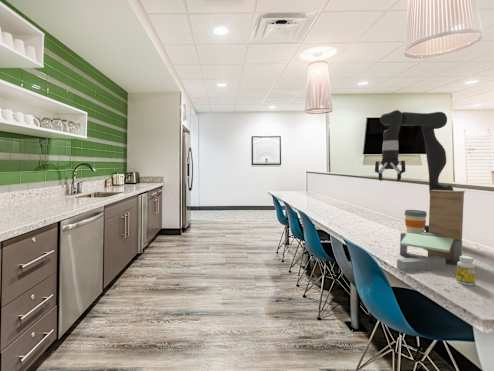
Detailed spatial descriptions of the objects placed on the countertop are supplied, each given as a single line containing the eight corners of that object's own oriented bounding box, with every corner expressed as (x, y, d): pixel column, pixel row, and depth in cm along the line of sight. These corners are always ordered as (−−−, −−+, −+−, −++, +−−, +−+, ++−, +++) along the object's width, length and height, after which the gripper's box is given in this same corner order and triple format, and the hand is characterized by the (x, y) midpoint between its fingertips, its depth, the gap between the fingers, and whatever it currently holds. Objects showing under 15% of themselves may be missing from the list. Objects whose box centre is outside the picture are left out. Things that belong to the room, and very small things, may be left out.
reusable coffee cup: (426, 233, 188) (426, 210, 188) (426, 236, 178) (426, 213, 177) (404, 230, 195) (405, 209, 194) (403, 234, 184) (404, 211, 184)
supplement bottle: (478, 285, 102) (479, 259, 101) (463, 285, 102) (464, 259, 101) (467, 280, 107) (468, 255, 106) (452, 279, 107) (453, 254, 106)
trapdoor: (408, 232, 138) (408, 230, 138) (454, 238, 126) (454, 236, 126) (400, 244, 128) (400, 242, 128) (449, 252, 116) (449, 249, 116)
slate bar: (397, 259, 120) (404, 262, 116) (437, 255, 125) (445, 258, 121) (396, 268, 120) (404, 271, 117) (437, 264, 125) (445, 267, 121)
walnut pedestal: (430, 253, 141) (432, 189, 139) (461, 259, 132) (464, 191, 131) (427, 257, 134) (429, 190, 133) (459, 263, 126) (462, 192, 124)
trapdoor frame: (401, 253, 141) (402, 232, 141) (461, 264, 125) (462, 240, 124) (399, 254, 139) (400, 233, 138) (460, 265, 123) (461, 242, 122)
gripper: (407, 149, 146) (406, 181, 146) (378, 150, 155) (377, 180, 156) (403, 148, 140) (402, 181, 141) (373, 150, 150) (372, 180, 151)
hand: (389, 180), depth 148 cm, fingers open, 8 cm apart
